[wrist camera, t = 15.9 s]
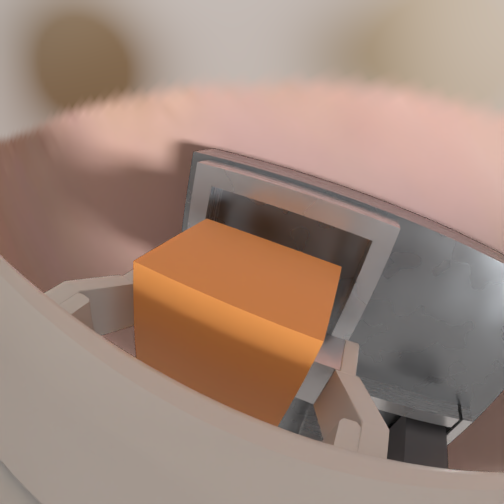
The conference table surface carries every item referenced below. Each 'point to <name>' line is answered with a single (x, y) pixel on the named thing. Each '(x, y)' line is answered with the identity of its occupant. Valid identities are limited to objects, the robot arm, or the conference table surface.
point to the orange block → (232, 316)
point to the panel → (376, 287)
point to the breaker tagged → (418, 443)
